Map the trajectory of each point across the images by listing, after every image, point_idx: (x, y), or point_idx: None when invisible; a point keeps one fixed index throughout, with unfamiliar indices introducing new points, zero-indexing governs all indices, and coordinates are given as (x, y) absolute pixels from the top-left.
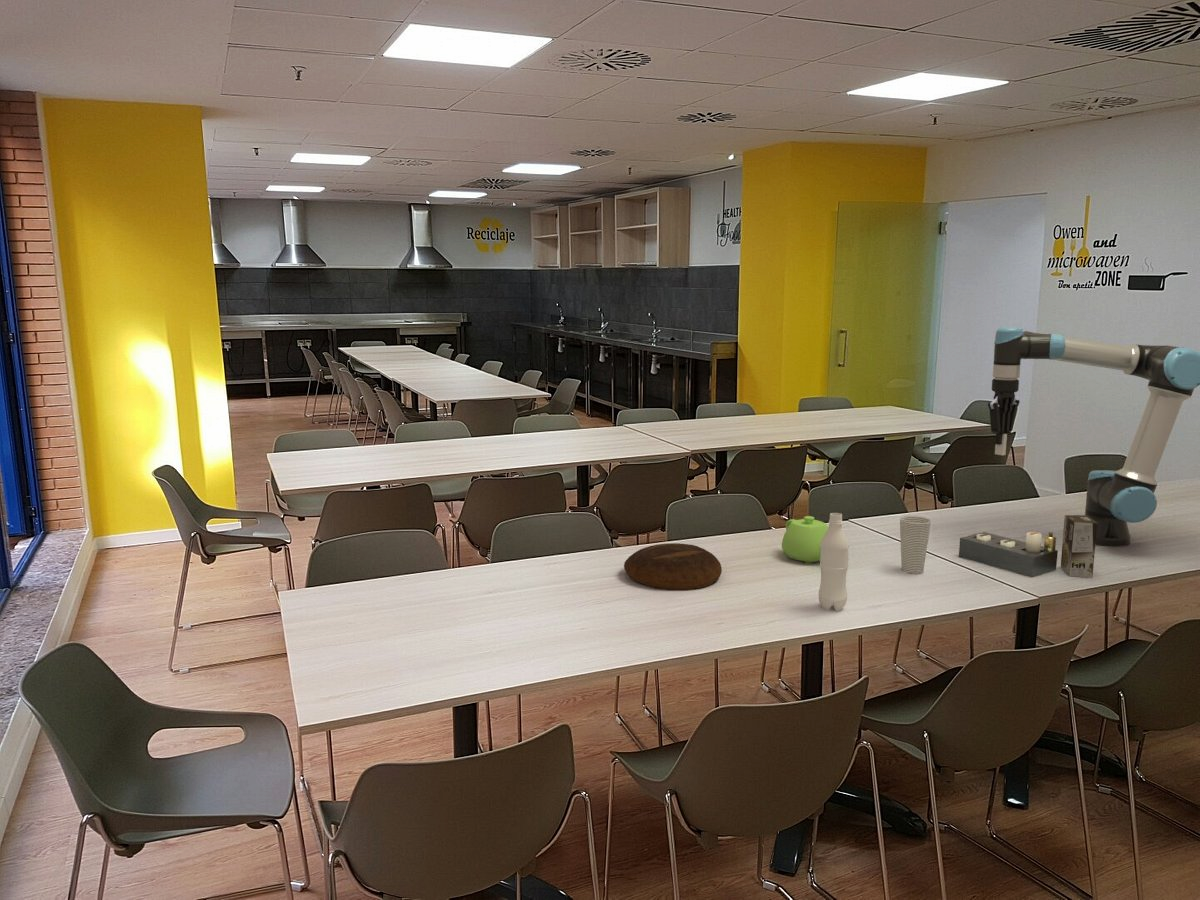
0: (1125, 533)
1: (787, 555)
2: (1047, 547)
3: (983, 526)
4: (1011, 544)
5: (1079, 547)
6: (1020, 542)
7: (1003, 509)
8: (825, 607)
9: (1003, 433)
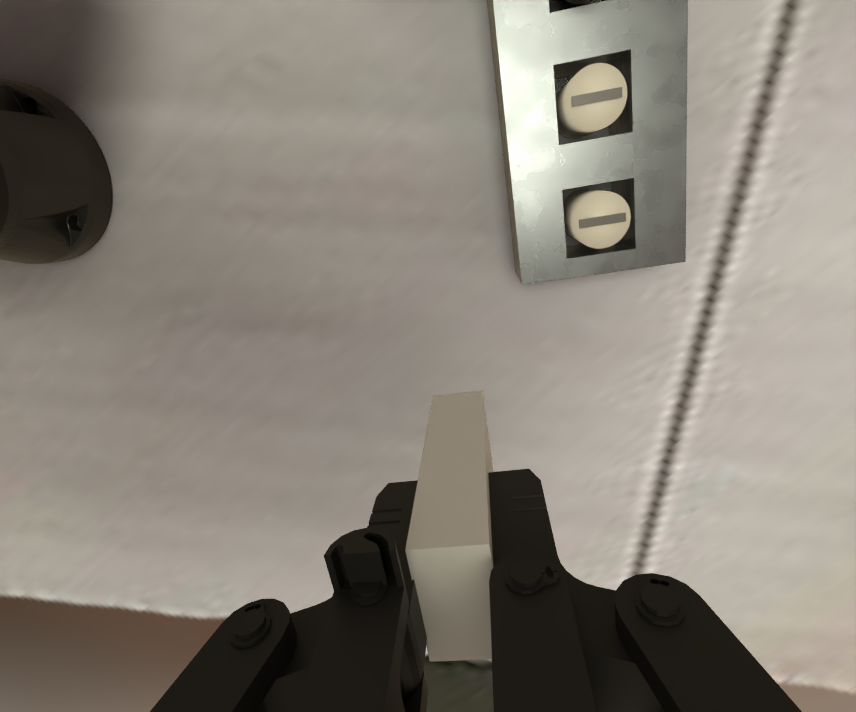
0: None
1: None
2: None
3: (294, 463)
4: (607, 65)
5: None
6: (524, 92)
7: (105, 556)
8: None
9: (502, 565)
